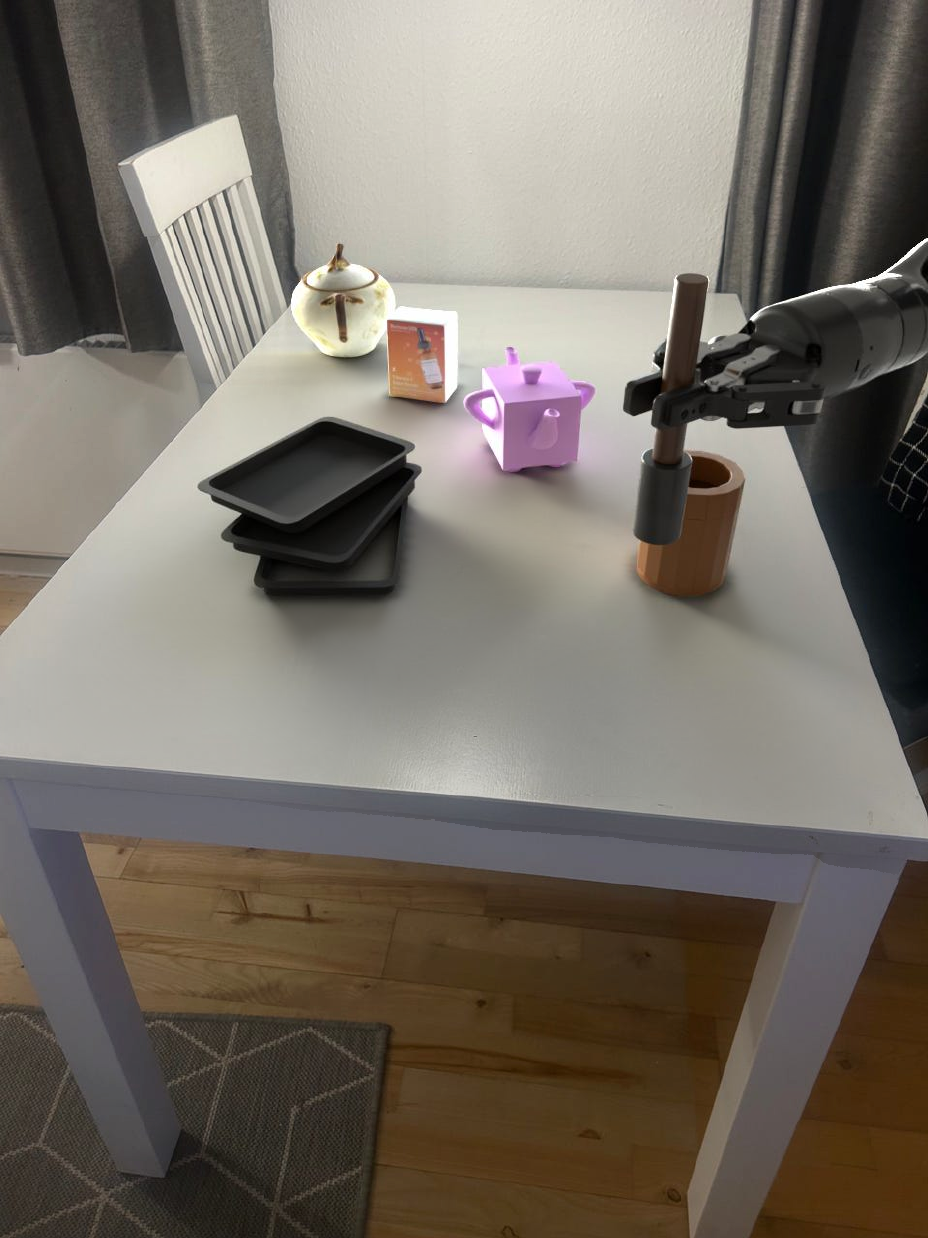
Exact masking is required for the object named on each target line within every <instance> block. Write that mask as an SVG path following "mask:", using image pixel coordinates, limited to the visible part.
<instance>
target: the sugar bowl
mask: <svg viewBox="0 0 928 1238" xmlns="http://www.w3.org/2000/svg"><path fill="white" fill-rule="evenodd" d="M344 248H345V245H344V243H342V242H337V243H336V245H335V252H334V254H333V256H332V258H331V260H330V261H329V262H328V263H327V264H325V265H323V266H320V267H319V268H315V269H313V270H311V271H308V272H307V273H305V274H304V275H303V276H302V278H301V279H300V282H299V283H298V284H297V286H296V287H295V289H294V290H293V292H292V296H291V301H290V302H291V303H290V304H291V305H290V306H291V312H292V316H293V318H294V321H295V322H296V324H297V325H298V326H299V328H300V329H301V331H303V333H304V334H305V335H306V336H307V337H308V338H309V339H310V340H311V341H312V342H313V343H314V344H315V345H316V347H318V349H319V350H320V352H322V353H323V354H325V355H327V356H331V357H335V358H355V357H360V356H364V355H368V354H369V353H371V352H372V351H374V350H375V349H376V347H377V345H378V343H379V341H380V340H381V338H382V337H383V335H384V334H385V332H386V331H387V323H386V321H387V319H388V318H389V317H390V316H391V315H392V314H393V313H394V312H395V311H396V310H395V309H396V297H395V293H394V291H393V288H392V287H391V285H390V283H389V282H388V280H386V279H385V278H384V277H383V276H381V275H380V274H379V272H378V271H377V270H375V269H374V268H371V267H369V266H364V265H359V264H354V263H350V262H349V261H348V260H347V258H346V256H345V255H343V251H344Z"/></svg>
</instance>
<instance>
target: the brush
mask: <svg viewBox="0 0 928 1238" xmlns="http://www.w3.org/2000/svg"><path fill="white" fill-rule="evenodd" d="M709 285H710V278H709V277H708V276H706V275H704V274H700V273H694V272H693V273H692V272H687V273H681V274H680V273H679V274H678V275H676V276H675V278H674V284H673V293H672V301H671V307H670V315H669V323H668V331H667V337H668V338H667V337H666V338H667V346H666V353H665V361H664V369H663V376H662V384H661V392H660V394H662V393H665V392H668V391H671V390H674V389H677V388H680V387H683V386H687V385H690V384H692V383H694V377H695V371H696V364H697V358H698V351H699V345H700V341H701V337H702V331H703V324H704V319H705V318H704V317H705V311H706V304H707V297H708V293H709ZM687 428H688V423H687V424H686V423H685V424H684V425H681V426H678V427H672V428H669V429H667V430H664V431H660V430H658V429H656V428H655V431H654V439H653V446H652V448H649V449H646V450H645V451H644V452H643V453H642V454H641V458H640V467H639V473H638V475H639V476H638V484H637V490H636V491H637V492H636V500H635V509H634V516H633V526H632V533H633V535H634V537H635V538H636V539H637V540H639V542H640V541H642V542H645V543H648V544H652V545H668V544H672V543H674V542H676V541H677V540H678V539H679V538H680V535H681V530H682V523H683V517H684V511H685V505H686V498H687V492H688V486H689V480H690V474H691V467H692V458H691V456H690V455H689V454H688V453H686V452H684V451H683V450H685V449H684V448H685V443H686V437H687V436H686V435H687V430H688V429H687Z"/></svg>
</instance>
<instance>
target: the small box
mask: <svg viewBox="0 0 928 1238" xmlns="http://www.w3.org/2000/svg"><path fill="white" fill-rule="evenodd" d="M386 323H387V329H386V342H387V366H388V368H387V369H388V389H389V392H388V393H389V394H388V395H389V397H395V398H405V399H412V400H419V401H425V402H431V403H432V402H434V403H442V404H446V403H447V401H448V400H449V399H450V398H451V396H452V395H453V394H454V392H455V391H456V390H457V388H458V312H457V311H446V310H434V309H426V308H425V309H423V308H417V307H415V308H414V307H408V306H403V305H401V306H399V307H398V308H396V310H395V311H394V313H393V314H392V315H391V316H390V317H389V318H388V319H387V321H386Z"/></svg>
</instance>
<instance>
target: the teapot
mask: <svg viewBox="0 0 928 1238" xmlns="http://www.w3.org/2000/svg"><path fill="white" fill-rule="evenodd" d="M505 355H506V361H507V364H506V365H498V366H487V367H483V368H482V372H481V373H482V377H481V378H482V389H480V390H476V391H473V392H471V393H469V394H467V395H466V396H465V397H464V399H463V406H464V409H465V410H466V411H467V412H468V413H469V415H470V416H471V417H472V418H474V419H475V420H477V421H478V422H479V423H481V425H482V426H481V430H482V432H483V434H484V436H485V439H486V440H487V442H488V444H489V446H490V448H491V451H492V452H493V454H494V457H495V458H496V459H497V461H498V464H499V466H500V467H501V469H502V471H506V472H509V473H516V472H519V471H520V470H522V468H531V467H541V466H549V467H552V468H560V467H563V466H564V465H565V464H569V463H576V462H577V463H578V458H579V445H580V444H579V443H580V428H581V415H582V411H583V410H584V409H585V408H586V407H587V406H588V405H589V404H590V403H591V401H592V399H593V398H594V397H595V394H596V388H595V386H594V384H593V383H590V382H588V381H583V380H570V379H569V377H568V376H567V375H566V373H565V372H564V371H563V370H562V368H561V367H560V365H559V364H558V363H557V362H556V361H555V360H551V361H541V362H540V361H539V362H529V363H520V359H519V355H518V352H517V350H516V349H515V348H514V347H512V346H508V347H506V348H505ZM579 391H580V392H579ZM481 401H482V402H481ZM480 402H481V403H482V404H481V407H480V405H479V403H480Z"/></svg>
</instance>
